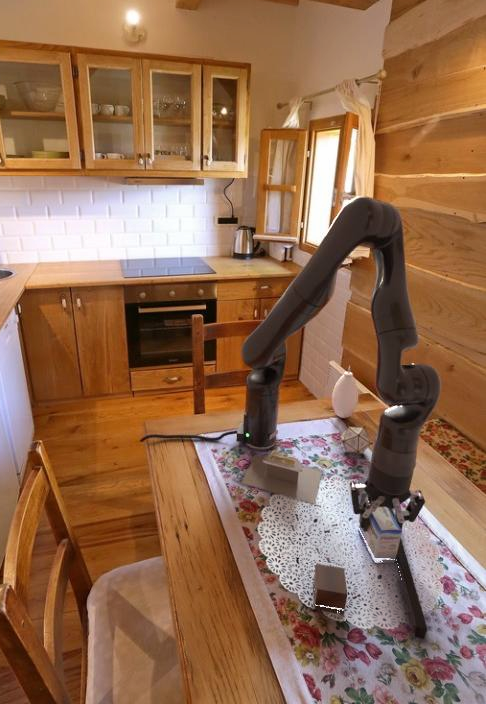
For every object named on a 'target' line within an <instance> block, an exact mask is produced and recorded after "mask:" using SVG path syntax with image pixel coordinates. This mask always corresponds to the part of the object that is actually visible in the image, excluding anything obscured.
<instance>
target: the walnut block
mask: <svg viewBox="0 0 486 704" xmlns="http://www.w3.org/2000/svg"><path fill="white" fill-rule="evenodd" d="M346 580H347V579H346V572H345V568H344V567H338V566H334V565H333V566H332V565H327V564H322V563H315V570H314V575H313V583H312V584H313V592H314V591H315V594H314V593H313V606H314V607H313V608H314V610H316V611H322V612H327V613H332V614H337V611H338V613H339V612H340V613H339V614H338V615H342V616H344V615H345V610H344V611H342V610H340V611H339V610H337V609H331V608H326V607H320V606H315V604H316V605H324V606H329V607H337V608H342V609H346V604H347V599H348V588H347V581H346ZM314 589H315V590H314Z"/></svg>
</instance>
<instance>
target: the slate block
mask: <svg viewBox="0 0 486 704" xmlns="http://www.w3.org/2000/svg"><path fill="white" fill-rule="evenodd" d="M367 479H368V478H361V477H358V480H357V484H364V483H365V481H366V480H367ZM366 496H367V493H366V492H365V491H363V492H362V495H361V497H358V499H359V504H361V505H362V503H363V502H364V501H365V498H366Z"/></svg>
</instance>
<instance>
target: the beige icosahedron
mask: <svg viewBox="0 0 486 704" xmlns="http://www.w3.org/2000/svg"><path fill="white" fill-rule="evenodd" d="M366 426H367V425H366V424H365V425H363V426H361V427H360V426H349V425H348V424H347V423H345V427H346V428H345V429H344V431H343V432H342V434H341V435H337V438H340V440H341V441H340V442H341V443H342V446H343V448H344V450H345V452H344V455H345V456H346V455H347V454H357V455H360V454H361V455H362V456H363V457H365V452H366V450H367V449H368V448H369V446H370V445H372V446H374V442H371V441H370V439H369V436H368V434H367V431H366V430H365V428H366Z"/></svg>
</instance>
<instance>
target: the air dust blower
mask: <svg viewBox="0 0 486 704" xmlns="http://www.w3.org/2000/svg"><path fill="white" fill-rule="evenodd" d="M358 404H359V389H358V384H357V382H356V379H355V377H354V374H353V372H351V365H348V370H347V371H344V373H343V375H341V376H340V377H339V379H338V380H337V382H336V383H335V385H334V388H333V390H332V394H331V406H332V409H333V412H334V414H335V415H336V416H338V417H339V418H341V419H347V418H349V417H351V416H352V415H353V414H354V413H355V411H356V410H357V407H358Z"/></svg>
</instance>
